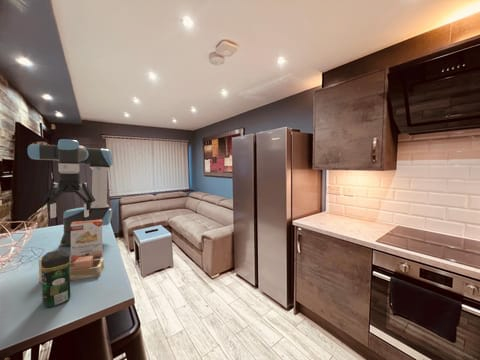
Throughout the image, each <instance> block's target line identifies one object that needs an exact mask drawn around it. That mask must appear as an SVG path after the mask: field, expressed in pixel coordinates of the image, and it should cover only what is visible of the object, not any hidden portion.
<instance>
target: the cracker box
mask: <svg viewBox="0 0 480 360" xmlns="http://www.w3.org/2000/svg"><path fill="white" fill-rule="evenodd" d="M92 255H93V259H95V258H101V256H102V257H103V226H102V219H100V220H89V221H78V222H72V223H71V247H70V263H74V262H75V261H76V260H77V258H78V257H85V256H92Z"/></svg>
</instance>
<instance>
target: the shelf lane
mask: <svg viewBox="0 0 480 360" xmlns="http://www.w3.org/2000/svg"><path fill="white" fill-rule="evenodd" d="M104 268H105V258H97V259H95V258H94V259H93V267H91V268H85V269H78V270H74V262H70V281H75V280H80V279H87V278H93V277H98V276H101V274H102V272H103V269H104Z"/></svg>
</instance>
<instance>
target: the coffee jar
mask: <svg viewBox="0 0 480 360" xmlns="http://www.w3.org/2000/svg"><path fill="white" fill-rule="evenodd" d="M41 258H42V261H41V279H42V282H41V292H42V293H41V298H42V304H43V306H44V307H45V308H51V307H58V306H60V305H61V304H64V303H66V302H67V301H69V300H70V299H71V295H72V293H71V280H70V263H71V254H69V252H68V251H66V250H62V249H57V250H53V251H49V252H47V253H45V254H44V255H43V256H42V257H41Z"/></svg>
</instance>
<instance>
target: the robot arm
mask: <svg viewBox="0 0 480 360" xmlns="http://www.w3.org/2000/svg"><path fill="white" fill-rule="evenodd" d="M27 155H28V157H29V158H30V159H31V160H40V161H41V160H42V161H43V160H44V161H57V163H58V172H59V173H58V181H59V182H51V183H50V187H49V189H48V191H47V193H46V195H45V196H44V198H43V200H42V204H47V209H48V212H49V215H50V219H53V218H56V217H57V203H56V201H57V200H59V198H60V197H61V196H62V195H63V194H64V193H67V194H68V193H70V194H71V193H74V194H76V195H77V196H78V197H79V198H80V199H81V200H82V201H83V202H84V204H83V207H77V208H72V209H67V210H65V211H64V212H63V217H62V219H63V222H62V223H63V235H62V237H61V240H60V241H59V243H60V245H59V246H60V247H64V248H68V247H69V248H71V223H72V222H78V221H89V220H100V219H102V227H104V226H108V225H109V224H110V223H111V222H112V221H111V220H112V218H113V208H110V205H109V204H108V170H110V169H111V166H113V165H114V164H113V163H114V160H113V154H112V152H111V150H110V149H108V148H96V147H94V148H93V147H83V146H80V144H79V141H78V140H75V139H64V138H63V139H59V140H58V142H57V144H44V143H41V144H40V143H32V144H31V143H30V144H29V145H28V147H27ZM80 165H83V166H89V168H90V169H91V171H92V173H91V174H92V175H91V176H92V177H91V182H92V183H91V188H92V189H91V190H90V188H89V187H88V186H89V185H88V182H83V183H80V176H81V175H80V171H81V170H80ZM58 187H59V190H58V191H57V192H56V190H57V188H58ZM81 189H82V190H83V191H82V190H81ZM55 192H56V193H55Z"/></svg>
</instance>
